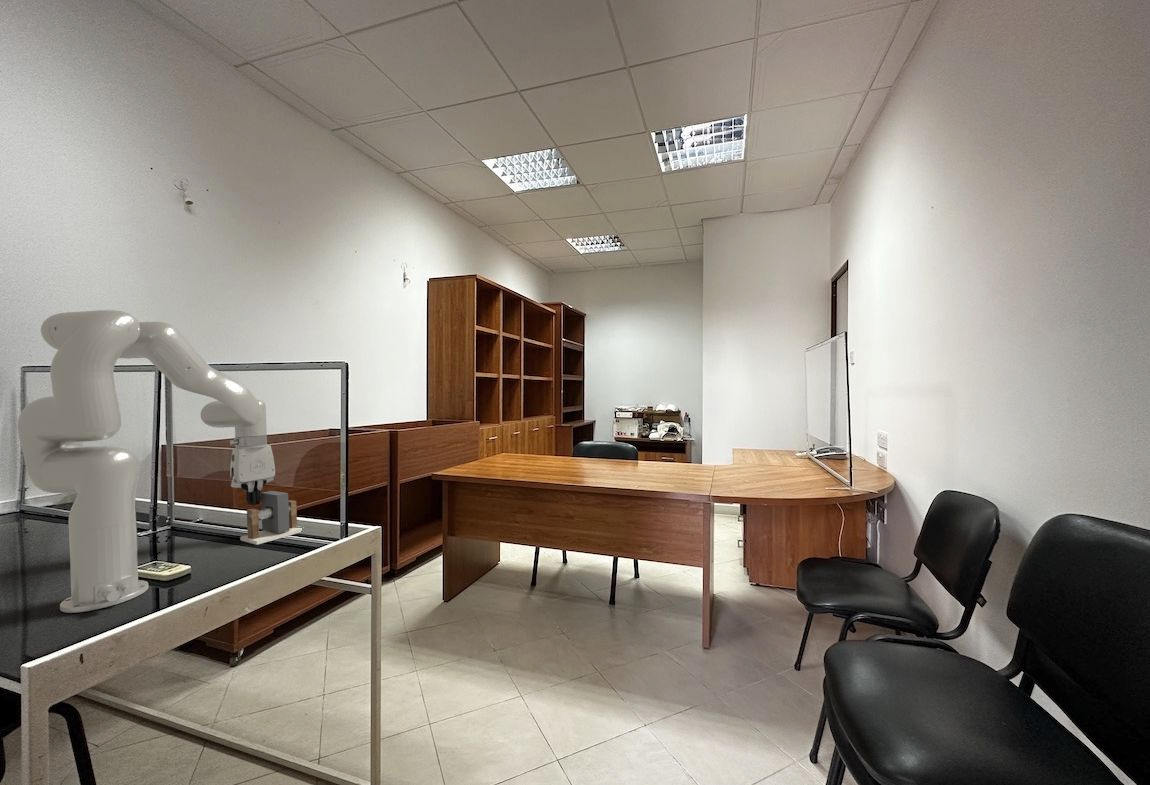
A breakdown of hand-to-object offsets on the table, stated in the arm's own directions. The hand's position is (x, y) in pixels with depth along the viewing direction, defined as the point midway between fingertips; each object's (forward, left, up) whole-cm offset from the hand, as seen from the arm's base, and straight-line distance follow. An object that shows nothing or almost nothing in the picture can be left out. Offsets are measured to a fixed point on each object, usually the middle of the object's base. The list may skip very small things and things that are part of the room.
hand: (253, 504), depth 130 cm
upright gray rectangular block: (-4, -4, -8) cm, 10 cm away
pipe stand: (-4, -3, -10) cm, 11 cm away
